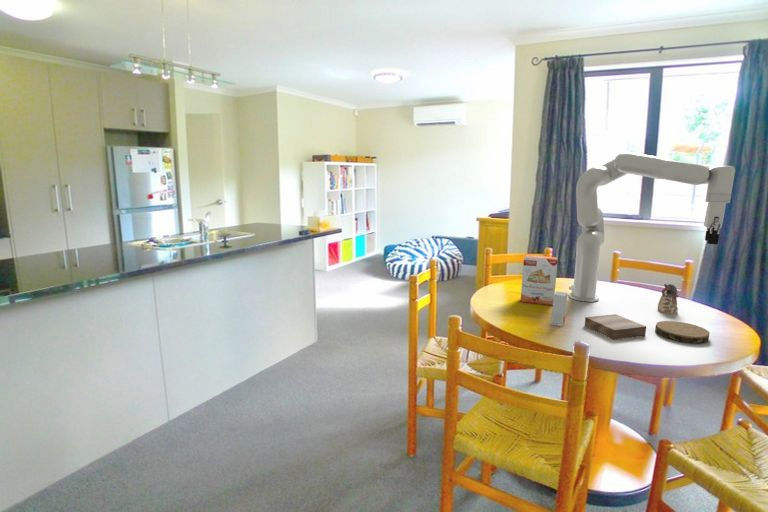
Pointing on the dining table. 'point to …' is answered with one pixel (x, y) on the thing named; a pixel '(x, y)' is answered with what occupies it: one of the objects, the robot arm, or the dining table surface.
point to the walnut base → (615, 326)
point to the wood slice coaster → (682, 332)
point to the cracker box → (539, 279)
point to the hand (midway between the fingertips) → (711, 242)
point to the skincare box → (559, 308)
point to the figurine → (668, 300)
